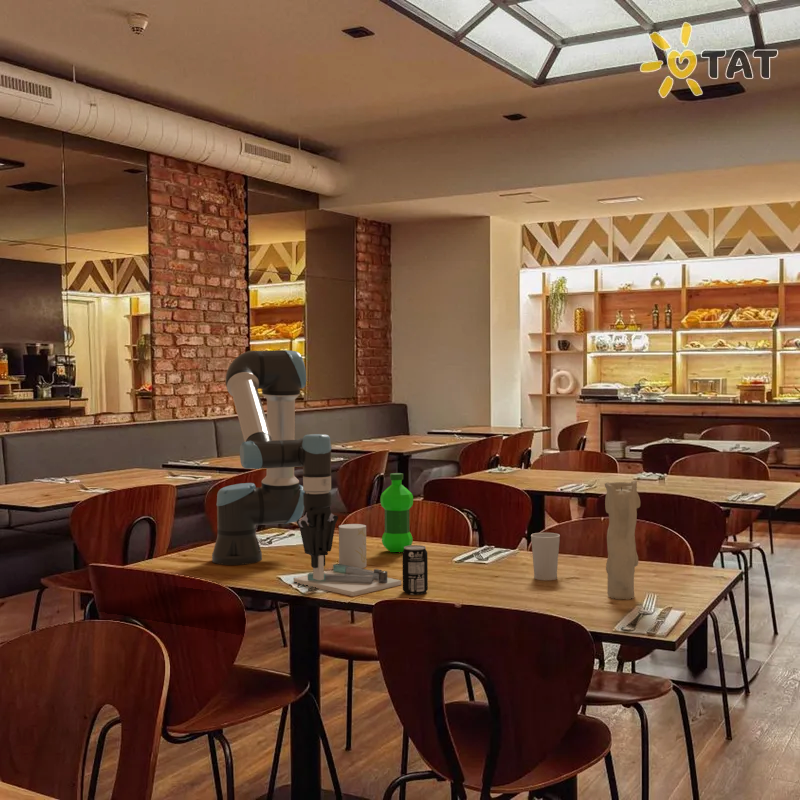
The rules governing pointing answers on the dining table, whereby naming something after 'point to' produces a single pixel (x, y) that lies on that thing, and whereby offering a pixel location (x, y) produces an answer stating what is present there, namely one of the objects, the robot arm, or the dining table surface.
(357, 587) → the rest board
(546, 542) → the cup
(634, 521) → the beige lumpy column
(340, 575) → the bar
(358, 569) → the tongs fixed
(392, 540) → the plastic bottle
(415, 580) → the beverage can
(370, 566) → the dining table surface
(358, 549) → the cup
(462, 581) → the dining table surface
